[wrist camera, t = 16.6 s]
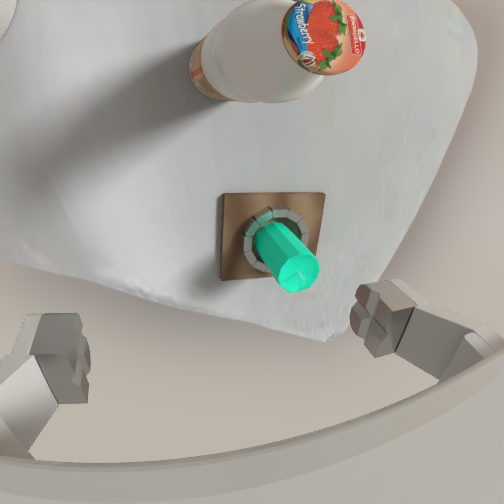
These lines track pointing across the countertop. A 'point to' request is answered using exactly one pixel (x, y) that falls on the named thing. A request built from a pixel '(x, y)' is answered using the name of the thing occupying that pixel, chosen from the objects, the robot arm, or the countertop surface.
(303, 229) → the ring collar
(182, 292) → the countertop surface
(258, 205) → the ring board
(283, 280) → the candle
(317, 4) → the fruit juice
